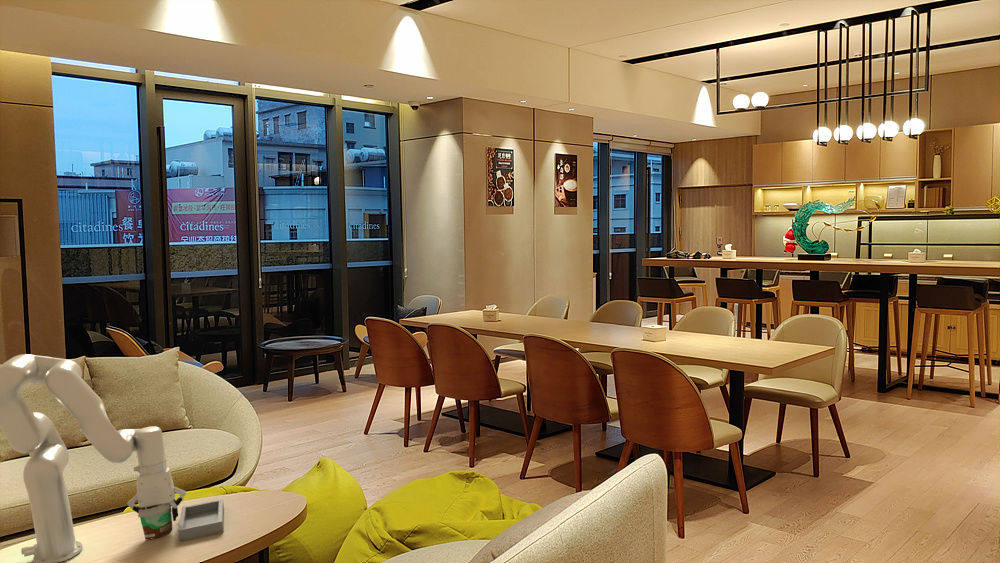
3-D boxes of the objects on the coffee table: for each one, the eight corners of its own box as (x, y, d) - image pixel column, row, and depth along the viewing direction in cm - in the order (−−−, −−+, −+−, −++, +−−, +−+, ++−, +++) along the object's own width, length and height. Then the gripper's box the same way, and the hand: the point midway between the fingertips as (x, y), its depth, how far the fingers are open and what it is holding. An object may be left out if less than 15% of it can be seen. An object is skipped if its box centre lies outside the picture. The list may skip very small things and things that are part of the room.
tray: (179, 541, 221) (178, 530, 220) (183, 517, 238) (182, 507, 237) (223, 532, 225) (222, 521, 224) (224, 508, 242) (222, 498, 241)
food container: (160, 542, 221) (155, 511, 220) (142, 542, 222) (137, 511, 221) (184, 523, 233) (180, 493, 232) (167, 522, 234) (162, 493, 233)
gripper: (119, 477, 218) (127, 533, 221) (182, 466, 224) (190, 521, 226) (123, 469, 225) (130, 523, 228) (184, 458, 231) (191, 511, 233)
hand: (160, 521), depth 227 cm, fingers closed on food container, 7 cm apart
